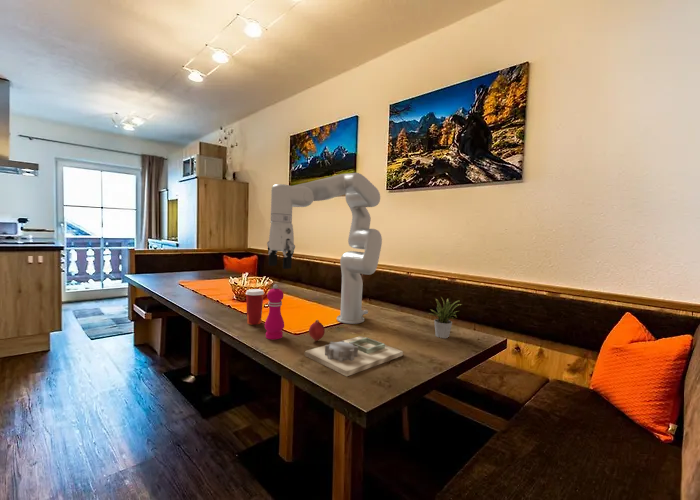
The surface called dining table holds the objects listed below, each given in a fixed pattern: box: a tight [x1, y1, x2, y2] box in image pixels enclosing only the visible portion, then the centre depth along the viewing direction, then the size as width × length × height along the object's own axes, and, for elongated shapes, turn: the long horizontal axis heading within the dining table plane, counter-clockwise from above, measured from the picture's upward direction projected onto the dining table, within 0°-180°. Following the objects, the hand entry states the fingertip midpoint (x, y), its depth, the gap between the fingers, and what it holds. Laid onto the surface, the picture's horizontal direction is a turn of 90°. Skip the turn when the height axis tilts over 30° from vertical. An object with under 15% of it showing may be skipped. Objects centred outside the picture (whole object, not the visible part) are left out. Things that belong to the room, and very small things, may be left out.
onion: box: [308, 319, 326, 342], centre depth 127 cm, size 6×6×8 cm
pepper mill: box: [264, 283, 285, 340], centre depth 129 cm, size 7×7×20 cm
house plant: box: [429, 296, 463, 339], centre depth 138 cm, size 14×14×16 cm
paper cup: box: [245, 288, 265, 326], centre depth 146 cm, size 8×8×14 cm
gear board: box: [304, 335, 404, 377], centre depth 114 cm, size 26×20×4 cm
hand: (279, 266), depth 124 cm, fingers open, 9 cm apart
